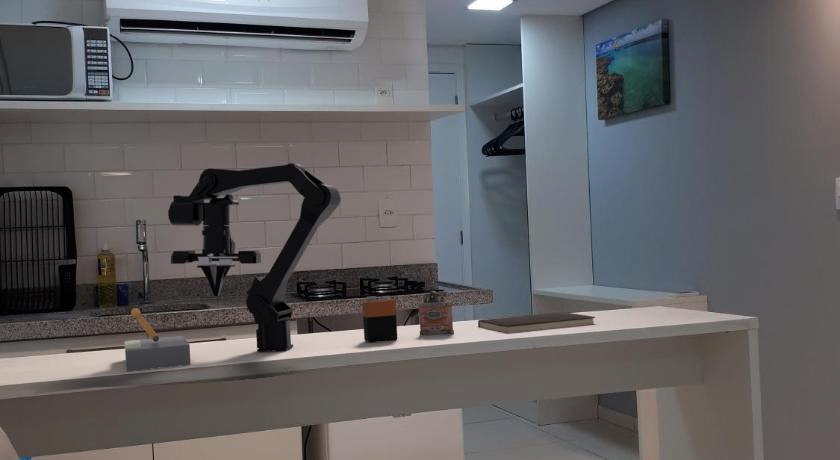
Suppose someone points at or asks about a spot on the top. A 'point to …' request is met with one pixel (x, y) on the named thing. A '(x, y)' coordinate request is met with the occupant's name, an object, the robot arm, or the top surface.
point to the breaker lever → (144, 324)
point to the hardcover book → (535, 322)
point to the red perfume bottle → (435, 314)
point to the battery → (379, 319)
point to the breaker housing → (156, 353)
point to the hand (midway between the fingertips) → (216, 296)
